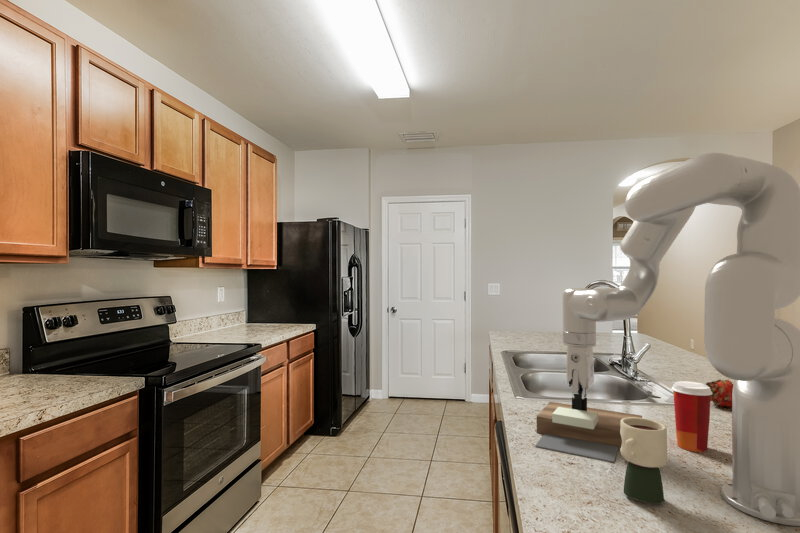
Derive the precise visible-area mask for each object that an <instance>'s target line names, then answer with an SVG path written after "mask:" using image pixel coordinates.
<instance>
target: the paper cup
mask: <svg viewBox="0 0 800 533" xmlns="http://www.w3.org/2000/svg"><path fill="white" fill-rule="evenodd" d="M670 389H671V390H672V391H673V407H674V418H675V421H674V422H675V433H676V443H677V446H678V448H680V449H683V450H685V451H688V452H693V453H706V452H707V451H708V446H709V445H708V444H709V442H708V441H709V430H710V429H709V428H710V419H711V417H710V415H711V413H710V412H711V401H710V399H711V395H712V394H713V393H712V391H711V390H710V387H708V386H707V385H706V383H705V384H704V383H701V382H696V381H695V382H694V381H685V380H683V381H682V380H681V381H675V382H674V383H673V384H672V387H671V388H670Z"/></svg>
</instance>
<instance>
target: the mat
mask: <svg viewBox="0 0 800 533" xmlns="http://www.w3.org/2000/svg"><path fill="white" fill-rule="evenodd" d="M534 447H535V448H539V449H543V450H548V451H554V452H559V453H562V454H568V455H572V456H573V455H574V456H578V457H583V458H588V459H591V460H592V459H593V460H598V461H603V462H608V463H613V464H615V461H616V457H617V452H618V450H619V448H618V447H617V446H612V445H607V444H601V443H596V442H591V441H585V440H580V439H575V438H569V437H564V436H558V435H553V434H548V433H545V434H542V436H541V437H540V439H539V440H538V441H537V443H536V444H535V445H534Z"/></svg>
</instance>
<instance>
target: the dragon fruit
mask: <svg viewBox="0 0 800 533" xmlns="http://www.w3.org/2000/svg"><path fill="white" fill-rule="evenodd" d="M733 384H734V383H733V382H732V381H731V380H729V379H725V380H724V379H717V380H712V381H710V382H709V381H708V382H705V385H707V386H708V387H710V390H711V391H712V393H713V394H712V395H711V399H710V402H712V403H713V405H714V406H715V407H717V408H720V409H722V408H723V407H725V406H726V407H727V408H731V409H732V392H733Z"/></svg>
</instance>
